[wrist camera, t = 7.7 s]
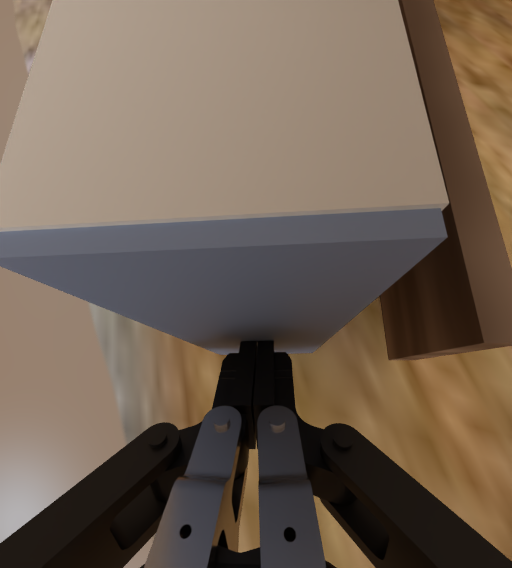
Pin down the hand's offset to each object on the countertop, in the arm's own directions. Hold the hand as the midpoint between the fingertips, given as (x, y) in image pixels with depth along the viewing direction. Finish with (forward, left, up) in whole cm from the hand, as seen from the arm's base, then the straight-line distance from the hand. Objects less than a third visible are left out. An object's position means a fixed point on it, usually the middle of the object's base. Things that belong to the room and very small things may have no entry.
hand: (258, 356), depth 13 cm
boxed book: (0, -8, -6) cm, 10 cm away
